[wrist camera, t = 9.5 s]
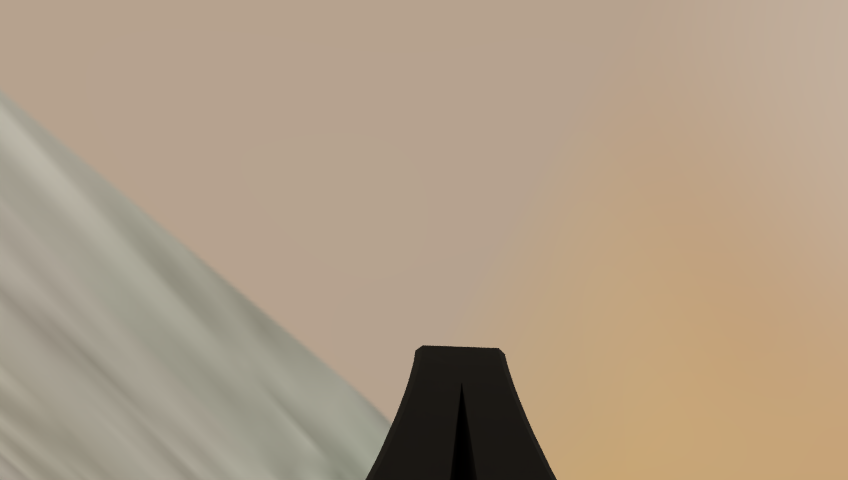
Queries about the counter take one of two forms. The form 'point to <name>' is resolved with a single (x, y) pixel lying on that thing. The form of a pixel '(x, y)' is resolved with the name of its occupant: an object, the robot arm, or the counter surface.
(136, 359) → the counter surface
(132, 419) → the counter surface
